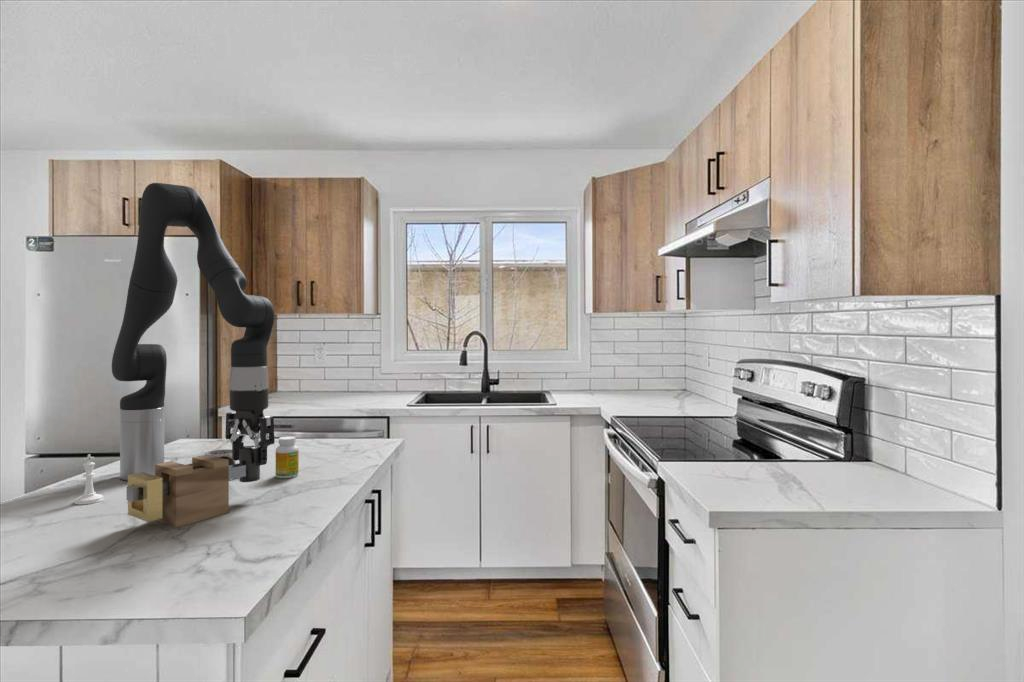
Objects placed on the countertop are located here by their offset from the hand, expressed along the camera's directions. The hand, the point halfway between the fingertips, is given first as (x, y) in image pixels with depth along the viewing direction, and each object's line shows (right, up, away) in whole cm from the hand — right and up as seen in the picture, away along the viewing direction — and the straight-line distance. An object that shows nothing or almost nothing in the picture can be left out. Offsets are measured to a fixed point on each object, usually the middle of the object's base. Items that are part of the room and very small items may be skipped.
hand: (249, 462), depth 117 cm
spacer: (-11, -6, -17) cm, 21 cm away
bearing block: (-6, -8, -10) cm, 15 cm away
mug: (-14, -8, +19) cm, 25 cm away
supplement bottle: (0, -8, +21) cm, 22 cm away
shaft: (-6, -4, -9) cm, 11 cm away
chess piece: (-34, -8, -1) cm, 35 cm away
